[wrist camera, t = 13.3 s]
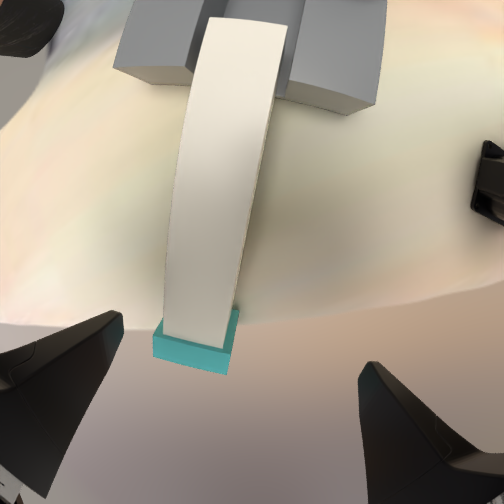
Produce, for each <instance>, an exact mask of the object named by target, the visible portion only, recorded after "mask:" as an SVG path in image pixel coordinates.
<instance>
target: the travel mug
mask: <svg viewBox="0 0 504 504" xmlns="http://www.w3.org/2000/svg"><path fill="white" fill-rule="evenodd" d="M63 13H64V5H63V3H62V2H61V1H60V0H0V55H2V56H13V57H22V58H27V57H31V56H33V55H35V54H36V53H38V52H39V51H40V50H41V49H42V48H43V47H44V46H45V45H46V44H47V43H48V42H49V41H50V39H51V38H52V36H53V35H54V33H55V32H56V30H57V28H58V26H59V24H60V22H61V20H62V17H63Z"/></svg>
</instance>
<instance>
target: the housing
mask: <svg viewBox="0 0 504 504" xmlns="http://www.w3.org/2000/svg"><path fill="white" fill-rule="evenodd" d="M386 12H387V0H135V1H134V3H133V6H132V9H131V11H130V14H129V16H128V19H127V22H126V25H125V28H124V31H123V34H122V37H121V40H120V43H119V47H118V50H117V54H116V57H115V61H114V65H113V68H114V69H117V70H119V71H122V72H124V73H126V74H129V75H131V76H133V77H136V78H138V79H140V80H142V81H145V82H147V83H149V84H160V85H183V86H192V81H193V77H194V73H195V69H196V65H197V61H198V57H199V53H200V49H201V46H202V42H203V38H204V35H205V31H206V28H207V24H208V21H209V18H210V17H217V18H233V19H244V20H253V21H261V22H268V23H274V24H280V25H286V26H288V29H287V36H286V44H285V51H284V57H283V61H282V66H281V70H280V75H279V80H278V84H277V89H276V94H275V98H280V99H285V100H290V101H294V102H298V103H303V104H307V105H311V106H315V107H318V108H322V109H326V110H329V111H333V112H336V113H340V114H343V115H346V116H347V115H350V114H352V113H355V112H357V111H360V110H362V109H365V108H367V107H370V106H373V105H375V102H376V96H377V90H378V83H379V77H380V70H381V62H382V54H383V46H384V36H385V25H386Z"/></svg>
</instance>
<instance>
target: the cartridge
mask: <svg viewBox="0 0 504 504" xmlns="http://www.w3.org/2000/svg"><path fill="white" fill-rule="evenodd" d="M287 29H288V26H286V25H280V24H274V23H268V22H261V21H253V20H244V19H233V18H217V17H210V18H209V21H208V24H207V28H206V31H205V35H204V38H203V42H202V46H201V49H200V53H199V57H198V61H197V65H196V69H195V73H194V77H193V81H192V86H191V90H190V95H189V99H188V104H187V109H186V114H185V119H184V124H183V130H182V135H181V141H180V147H179V153H178V159H177V166H176V173H175V180H174V187H173V195H172V203H171V212H170V221H169V232H168V243H167V255H166V269H165V287H164V313H163V318H162V320H161V322H160V324H159V325H158V327H157V329H156V330H155V332H154V334H153V357H156V358H160V359H163V360H167V361H170V362H174V363H178V364H181V365H185V366H189V367H193V368H197V369H202V370H206V371H210V372H215V373H219V374H224V375H227V370H228V365H229V361H230V356H231V351H232V346H233V341H234V336H235V331H236V326H237V321H238V315H239V310H234V309H232V306H233V300H234V295H235V290H236V285H237V280H238V275H239V270H240V265H241V260H242V254H243V249H244V244H245V239H246V234H247V229H248V224H249V219H250V214H251V209H252V204H253V200H254V195H255V190H256V185H257V180H258V175H259V170H260V165H261V160H262V156H263V151H264V146H265V141H266V136H267V132H268V127H269V122H270V117H271V113H272V108H273V103H274V98H275V94H276V89H277V84H278V80H279V75H280V70H281V66H282V61H283V57H284V51H285V44H286V36H287Z"/></svg>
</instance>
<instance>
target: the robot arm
mask: <svg viewBox="0 0 504 504" xmlns="http://www.w3.org/2000/svg"><path fill="white" fill-rule="evenodd" d="M488 145H489V147H488ZM476 204H477V206H476ZM471 208H472V210H473V211H475V212H477V213H479V214H481V215H483V216H485V217H487V218H489V219H491V220H493V221H495V222H497V223H499V224H501V225H503V226H504V150H502V149H501V148H500V147H498V146H497V145H496V144H494V143H493V142H492V141H490V140H486V141H485V142H484V146H483V152H482V158H481V164H480V169H479V174H478V178H477V183H476V187H475V191H474V195H473V199H472V203H471ZM123 334H124V326H123V316H122V314H121V313H120V312H117V311H114V310H110V311H108V312H105V313H103V314H100V315H98V316H95V317H93V318H91V319H88V320H86V321H83V322H81V323H78V324H76V325H74V326H71V327H69V328H66V329H64V330H61V331H59V332H56V333H54V334H52V335H49V336H47V337H44V338H42V339H39V340H37V342H36V341H34V342H32V343H30V344H27V345H24V346H22V347H19V348H16V349H14V350H10V351H7V352H4V353H0V504H23V501H22V498H21V496H20V493H19V492H20V490H21V488H22V486H23V484H24V485H26V486H27V487H29V488H30V489H31V490H33V491H34V492H36V493H37V494H39V495H40V496H41V497H43V498H45V499H46V497H47V495H48V492H49V490H50V487H51V485H52V483H53V480H54V478H55V476H56V473H57V471H58V469H59V466H60V464H61V462H62V460H63V457H64V455H65V453H66V451H67V449H68V446H69V445H70V442H71V440H72V438H73V436H74V434H75V432H76V430H77V428H78V426H79V424H80V422H81V420H82V418H83V416H84V414H85V412H86V410H87V408H88V407H89V405H90V403H91V401H92V399H93V397H94V395H95V394H96V392H97V390H98V388H99V386H100V384H101V383H102V381H103V379H104V377H105V375H106V374H107V372H108V370H109V368H110V365H111V363H112V361H113V358H114V356H115V353H116V351H117V349H118V347H119V344H120V342H121V340H122V338H123ZM358 397H359V417H360V425H361V432H362V439H363V448H364V457H365V466H366V478H367V490H368V504H504V453H485V452H483V451H481V450H479V449H477V448H476V447H475V446H473V445H472V444H471V443H469V442H468V441H467V440H466V439H464V438H463V437H462V436H460V435H459V434H458V433H456V432H455V431H454V430H453V429H451V428H450V427H449V426H448V425H447V424H446V423H445V422H444V421H442V420H441V419H440V418H439V417H438V416H436V414H435V413H434V412H433V411H432V410H431V409H429V408H428V407H427V406H426V405H425V404H424V403H423V402H422V401H421V400H420V399H419V398H418V397H416V396H415V395H414V394H413V393H412V392H411V391H410V390H409V389H408V388H407V387H405V386H404V385H403V384H402V383H401V382H400V381H399V380H398V379H396V377H395V376H394V375H392V374H391V373H390V372H389V371H388V370H387V369H386V368H385V367H383V365H381V364H380V363H379V362H377V361H369V362H367V364H366V365H365V367H364V369H363V370H362V372H361V374H360V375H359V378H358Z"/></svg>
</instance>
